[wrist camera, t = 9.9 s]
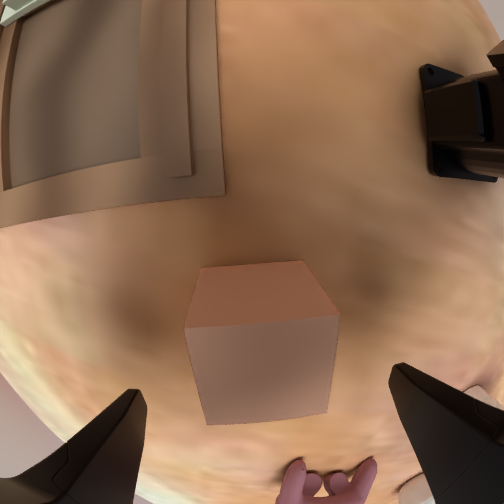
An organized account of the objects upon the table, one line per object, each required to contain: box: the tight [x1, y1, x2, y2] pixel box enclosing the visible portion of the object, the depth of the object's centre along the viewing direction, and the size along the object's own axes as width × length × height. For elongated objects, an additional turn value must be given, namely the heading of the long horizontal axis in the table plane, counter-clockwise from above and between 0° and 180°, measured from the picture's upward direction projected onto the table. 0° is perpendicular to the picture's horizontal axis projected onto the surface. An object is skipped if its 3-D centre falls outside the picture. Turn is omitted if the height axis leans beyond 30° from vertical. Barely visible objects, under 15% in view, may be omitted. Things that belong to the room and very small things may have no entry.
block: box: [184, 260, 340, 425], centre depth 12 cm, size 5×5×6 cm
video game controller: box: [275, 458, 377, 504], centre depth 18 cm, size 10×5×7 cm, turn 69°
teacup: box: [398, 473, 435, 504], centre depth 24 cm, size 10×8×5 cm
